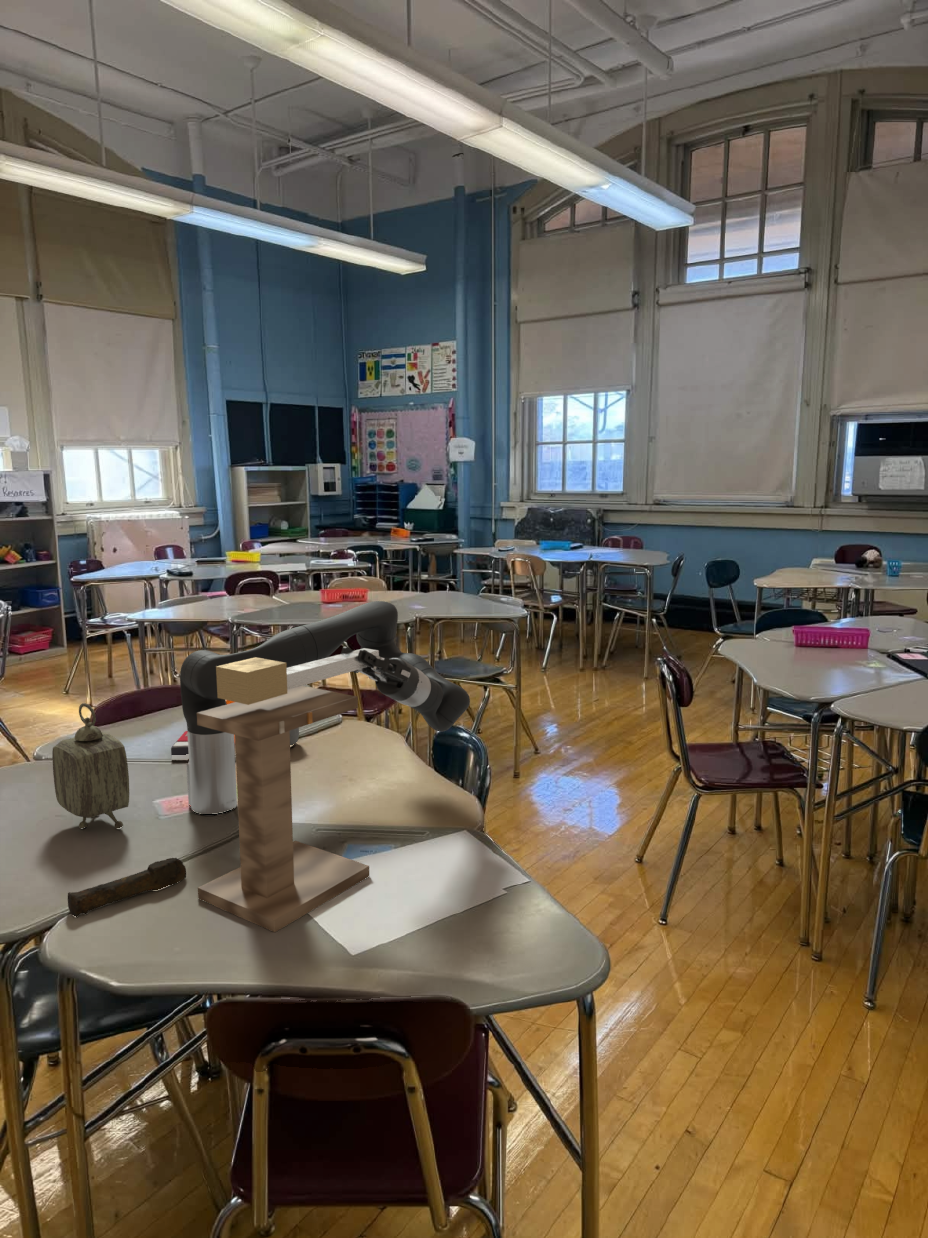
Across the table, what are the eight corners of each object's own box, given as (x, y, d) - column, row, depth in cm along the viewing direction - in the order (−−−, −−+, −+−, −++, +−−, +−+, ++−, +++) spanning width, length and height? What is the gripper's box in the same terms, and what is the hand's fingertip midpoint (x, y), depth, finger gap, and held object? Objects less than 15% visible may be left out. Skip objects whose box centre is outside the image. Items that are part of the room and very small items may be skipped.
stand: (198, 899, 137) (188, 710, 132) (295, 850, 155) (290, 683, 149) (274, 932, 127) (267, 730, 122) (369, 876, 145) (366, 698, 139)
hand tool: (74, 923, 130) (72, 895, 129) (66, 912, 133) (64, 885, 132) (192, 886, 142) (191, 860, 141) (183, 877, 145) (181, 852, 144)
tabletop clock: (132, 829, 164) (124, 706, 160) (85, 844, 157) (76, 716, 153) (100, 809, 173) (91, 693, 169) (55, 822, 167) (45, 701, 163)
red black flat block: (226, 728, 219) (216, 743, 204) (227, 744, 220) (217, 760, 205) (183, 729, 218) (170, 744, 203) (184, 745, 218) (171, 761, 204)
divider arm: (217, 697, 129) (216, 666, 128) (357, 660, 156) (356, 633, 155) (248, 704, 125) (246, 672, 124) (386, 664, 152) (385, 638, 151)
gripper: (381, 660, 167) (329, 629, 154) (438, 669, 159) (388, 638, 146) (370, 695, 165) (315, 667, 152) (427, 707, 157) (375, 678, 144)
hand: (351, 653), depth 149 cm, fingers closed on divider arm, 3 cm apart
